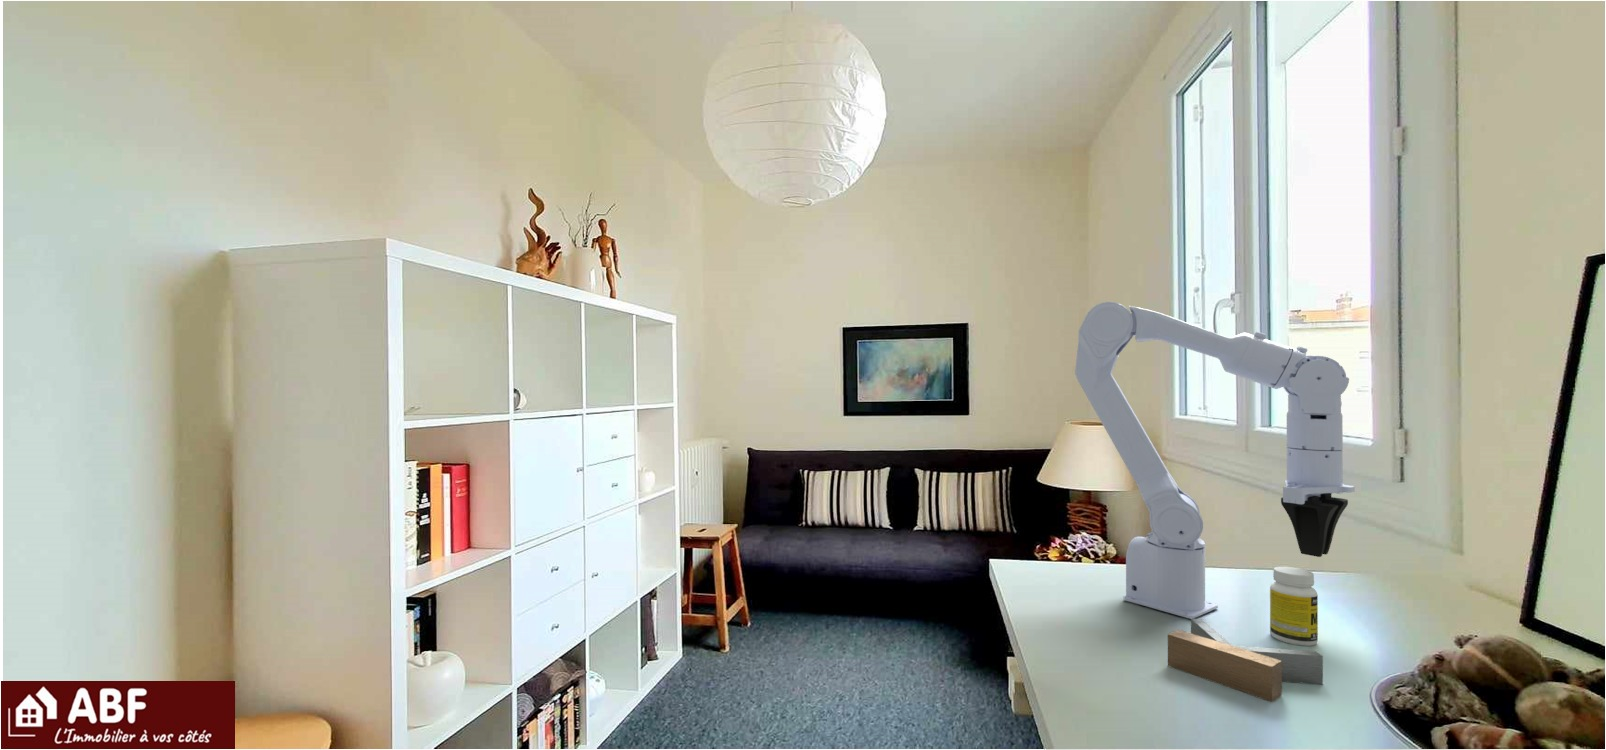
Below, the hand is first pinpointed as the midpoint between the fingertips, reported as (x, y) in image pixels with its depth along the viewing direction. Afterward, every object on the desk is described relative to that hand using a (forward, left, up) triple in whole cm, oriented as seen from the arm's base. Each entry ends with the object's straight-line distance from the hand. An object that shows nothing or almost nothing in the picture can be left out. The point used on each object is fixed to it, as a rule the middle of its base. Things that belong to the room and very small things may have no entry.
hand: (1314, 553), depth 85 cm
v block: (0, -23, -9) cm, 25 cm away
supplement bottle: (0, -7, -10) cm, 12 cm away
